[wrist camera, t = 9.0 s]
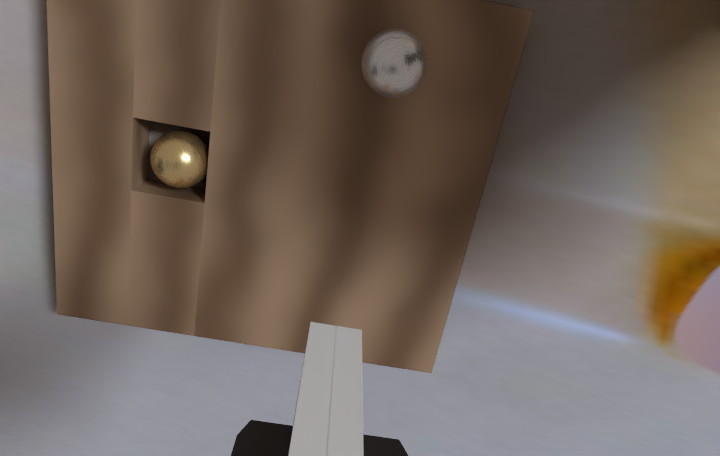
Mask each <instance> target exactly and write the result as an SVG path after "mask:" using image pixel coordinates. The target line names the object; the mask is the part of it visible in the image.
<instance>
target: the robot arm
mask: <svg viewBox="0 0 720 456" xmlns="http://www.w3.org/2000/svg"><path fill="white" fill-rule="evenodd" d="M231 456H408V454H407V453H406V451H405V449H404V448H403V446H402V444H401V442H400V441H399V440H397V439H390V438H383V437H376V436H369V435H363V375H362V330H360V329H354V328H347V327H341V326H334V325H328V324H322V323H315V322H310V328H309V334H308V340H307V346H306V351H305V357H304V363H303V369H302V375H301V380H300V386H299V392H298V398H297V404H296V410H295V416H294V422H293V426H290V425H283V424H276V423H269V422H262V421H255V420H251V421H250V422H249V423H248V424H247V425H246V426H245V427H244V428H243V429H242V430H241V432H240V433H239V434H238V435H237V437H236V441H235V444H234V447H233V451H232V454H231Z"/></svg>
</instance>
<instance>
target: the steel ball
mask: <svg viewBox="0 0 720 456" xmlns="http://www.w3.org/2000/svg"><path fill="white" fill-rule="evenodd" d="M427 66H428V60H427V54H426V50H425V48H424V46H423V44H422V43H421V41H420V40H419V39H418V38H417V37H416V36H415V35H414V34H412V33H410V32H408V31H406V30H403V29H387V30H384V31H382V32H380V33H378V34H376V35H375V36H374V37H373V38H372V39H371V40H370V41H369V42H368V44H367V45H366V47H365V49H364V52H363V55H362V60H361V68H362V73H363V77H364V79H365V81H366V83H367V84H368V86H369V87H370V88H371V89H372V90H373V91H374V92H376V93H377V94H379V95H381V96H383V97H387V98H401V97H404V96H407V95H409V94H411V93H412V92H413V91H415V90H416V89H417V88H418V87H419V86H420V84H421V83H422V81H423V80H424V78H425V75H426V72H427Z"/></svg>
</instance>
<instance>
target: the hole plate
mask: <svg viewBox="0 0 720 456" xmlns="http://www.w3.org/2000/svg"><path fill="white" fill-rule="evenodd" d="M46 1H47V31H48V61H49V91H50V121H51V151H52V181H53V211H54V241H55V271H56V301H57V314H59V315H66V316H72V317H78V318H85V319H91V320H97V321H104V322H110V323H116V324H123V325H129V326H135V327H142V328H148V329H155V330H161V331H167V332H174V333H180V334H186V335H193V336H199V337H205V338H212V339H218V340H224V341H231V342H237V343H244V344H250V345H256V346H263V347H269V348H275V349H282V350H288V351H294V352H301V353H305V351H306V346H307V340H308V334H309V328H310V322H315V323H322V324H328V325H334V326H341V327H347V328H354V329H360V330H362V362H364V363H371V364H377V365H383V366H390V367H396V368H402V369H409V370H415V371H421V372H428V373H432V369H433V366H434V362H435V359H436V355H437V351H438V348H439V344H440V341H441V337H442V334H443V330H444V327H445V323H446V320H447V316H448V313H449V309H450V306H451V302H452V299H453V295H454V292H455V288H456V284H457V281H458V277H459V274H460V270H461V267H462V263H463V260H464V256H465V253H466V249H467V246H468V242H469V239H470V235H471V232H472V228H473V224H474V221H475V217H476V214H477V210H478V207H479V203H480V200H481V196H482V193H483V189H484V186H485V182H486V179H487V175H488V172H489V168H490V165H491V161H492V157H493V154H494V150H495V147H496V143H497V140H498V136H499V133H500V129H501V126H502V122H503V119H504V115H505V112H506V108H507V105H508V101H509V98H510V94H511V90H512V87H513V83H514V80H515V76H516V73H517V69H518V66H519V62H520V59H521V55H522V52H523V48H524V45H525V41H526V38H527V34H528V31H529V27H530V23H531V20H532V16H533V13H534V11H532V10H527V9H522V8H518V7H513V6H508V5H503V4H498V3H493V2H488V1H484V0H46ZM387 29H403V30H406V31H408V32H410V33H412V34H414V35H415V36H416V37H417V38H418V39H419V40H420V41H421V43H422V44H423V46H424V48H425V50H426V54H427V60H428V66H427V72H426V75H425V78H424V80H423V81H422V83H421V84H420V86H419V87H418V88H417V89H416V90H415V91H413V92H412V93H411V94H409V95H407V96H404V97H401V98H387V97H383V96H381V95H379V94H377V93H376V92H374V91H373V90H372V89H371V88H370V87H369V86H368V84H367V83H366V81H365V79H364V77H363V73H362V68H361V60H362V55H363V52H364V49H365V47H366V45H367V44H368V42H369V41H370V40H371V39H372V38H373V37H374V36H375V35H376V34H378V33H380V32H382V31H384V30H387ZM149 121H155V122H160V123H166V124H171V125H177V126H182V127H188V128H193V129H199V130H204V131H210V142H209V155H208V167H207V180H206V190H204V189H199V188H193V187H188V188H176V187H172V186H169V185H167V184H165V183H164V182H159V181H153V180H147V177H148V149H149Z"/></svg>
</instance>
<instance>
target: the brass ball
mask: <svg viewBox="0 0 720 456" xmlns="http://www.w3.org/2000/svg"><path fill="white" fill-rule="evenodd" d="M208 155H209V150H208V148H207V146H206V145H205V143H204V142H203V141H202V140H201V139H200V138H199V137H197V136H196V135H194V134H192V133H189V132H186V131H173V132H169V133H167V134H165V135H163V136H161V137H160V138H159V139H158V140H157V141H156V142H155V144H154V146H153V148H152V150H151V155H150V161H151V166H152V169H153V171H154V173H155V174H156V176H157V177H158V178H159V179H160V180H161V181H162V182H164V183H165V184H167V185H169V186H172V187H176V188H188V187H192V186H194V185H196V184H198V183H199V182H201V181H202V180H203V179H204V178H205V176H206V175H207V167H208Z"/></svg>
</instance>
